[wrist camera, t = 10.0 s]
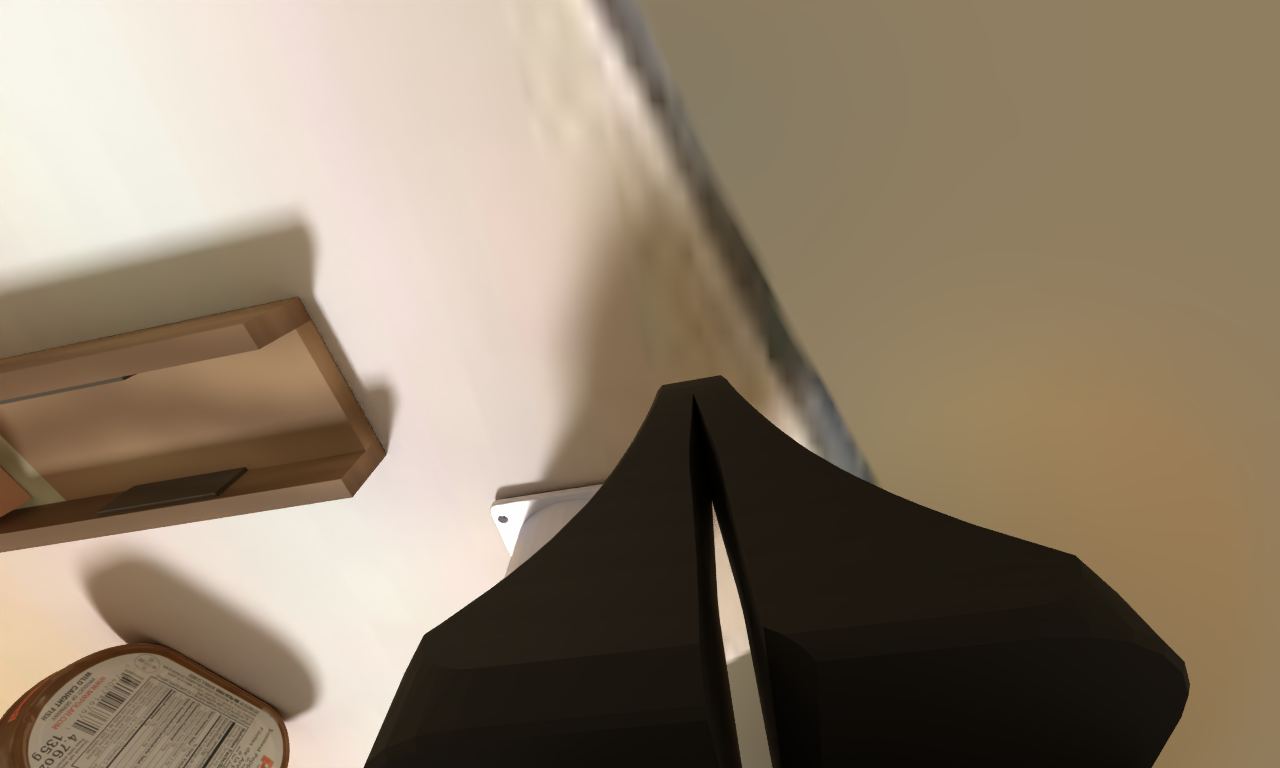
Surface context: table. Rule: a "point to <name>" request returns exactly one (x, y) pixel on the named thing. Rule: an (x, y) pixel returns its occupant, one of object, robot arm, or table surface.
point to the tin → (140, 717)
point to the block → (10, 494)
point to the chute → (179, 427)
